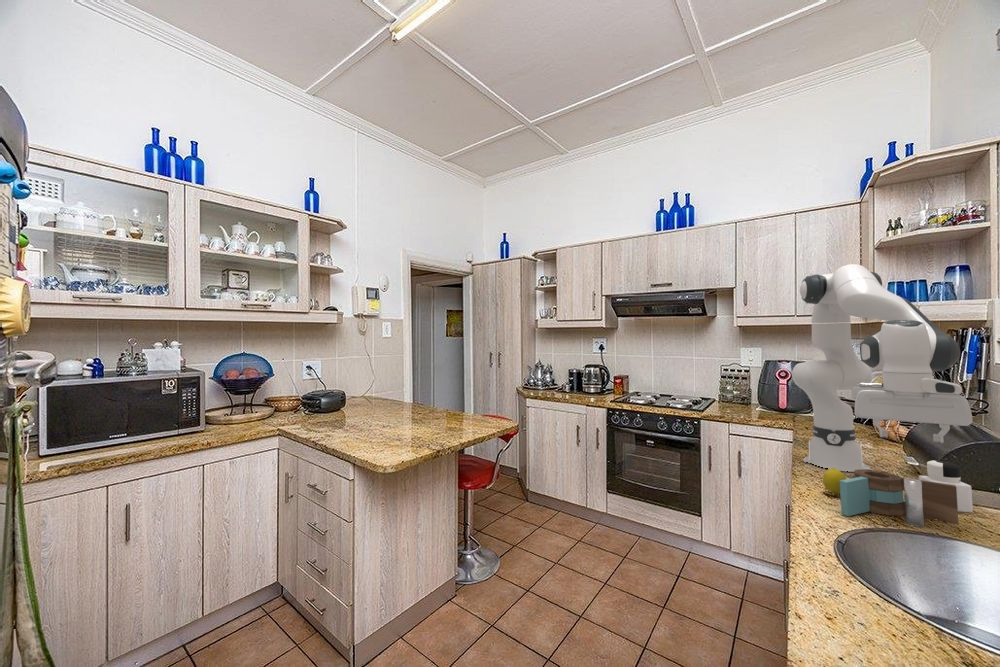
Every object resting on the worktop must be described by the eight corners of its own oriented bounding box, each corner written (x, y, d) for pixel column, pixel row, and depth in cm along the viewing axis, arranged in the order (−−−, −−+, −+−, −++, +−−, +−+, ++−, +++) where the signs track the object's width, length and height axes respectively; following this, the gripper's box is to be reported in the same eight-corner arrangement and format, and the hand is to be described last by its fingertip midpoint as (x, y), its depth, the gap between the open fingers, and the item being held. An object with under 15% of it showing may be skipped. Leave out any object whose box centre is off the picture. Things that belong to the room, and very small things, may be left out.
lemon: (838, 492, 118) (837, 465, 119) (852, 499, 113) (851, 471, 113) (818, 491, 119) (817, 465, 119) (832, 498, 113) (831, 470, 114)
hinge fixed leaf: (855, 499, 113) (854, 467, 113) (953, 516, 100) (951, 481, 101) (857, 509, 106) (855, 475, 106) (962, 529, 94) (959, 491, 94)
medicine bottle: (952, 502, 109) (949, 459, 110) (973, 513, 102) (970, 467, 103) (919, 500, 111) (917, 457, 112) (938, 510, 105) (936, 465, 105)
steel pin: (905, 521, 98) (903, 477, 99) (922, 524, 96) (920, 479, 97) (907, 525, 96) (904, 480, 97) (925, 528, 94) (922, 482, 95)
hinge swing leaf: (868, 498, 112) (867, 468, 112) (910, 511, 103) (908, 478, 104) (825, 508, 106) (823, 476, 106) (865, 522, 97) (863, 487, 98)
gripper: (851, 383, 102) (854, 436, 101) (972, 387, 89) (976, 448, 88) (851, 381, 107) (853, 432, 106) (965, 385, 93) (969, 443, 93)
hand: (910, 439), depth 97 cm, fingers open, 8 cm apart
